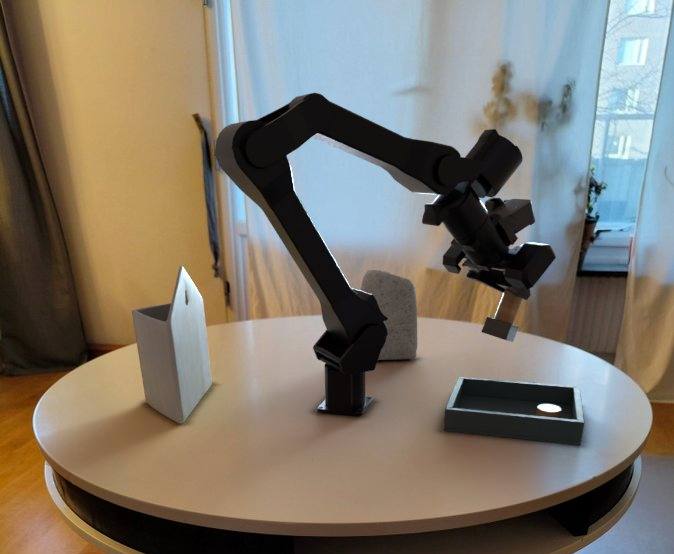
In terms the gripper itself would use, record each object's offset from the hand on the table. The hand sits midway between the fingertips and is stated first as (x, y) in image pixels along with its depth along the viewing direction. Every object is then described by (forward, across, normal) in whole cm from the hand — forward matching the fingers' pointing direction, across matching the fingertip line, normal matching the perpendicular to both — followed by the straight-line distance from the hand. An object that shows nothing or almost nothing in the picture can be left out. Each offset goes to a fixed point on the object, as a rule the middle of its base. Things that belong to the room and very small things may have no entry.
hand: (520, 295), depth 95 cm
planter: (-28, +14, +46) cm, 55 cm away
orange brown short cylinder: (+1, -19, +16) cm, 25 cm away
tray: (0, -15, +18) cm, 23 cm away
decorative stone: (0, +18, +18) cm, 25 cm away
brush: (+2, 0, +7) cm, 7 cm away
